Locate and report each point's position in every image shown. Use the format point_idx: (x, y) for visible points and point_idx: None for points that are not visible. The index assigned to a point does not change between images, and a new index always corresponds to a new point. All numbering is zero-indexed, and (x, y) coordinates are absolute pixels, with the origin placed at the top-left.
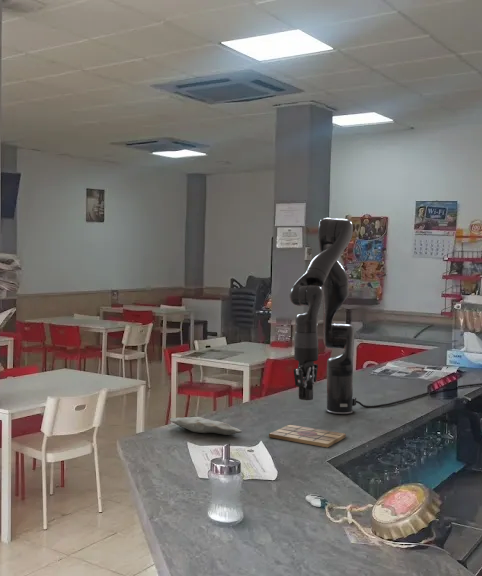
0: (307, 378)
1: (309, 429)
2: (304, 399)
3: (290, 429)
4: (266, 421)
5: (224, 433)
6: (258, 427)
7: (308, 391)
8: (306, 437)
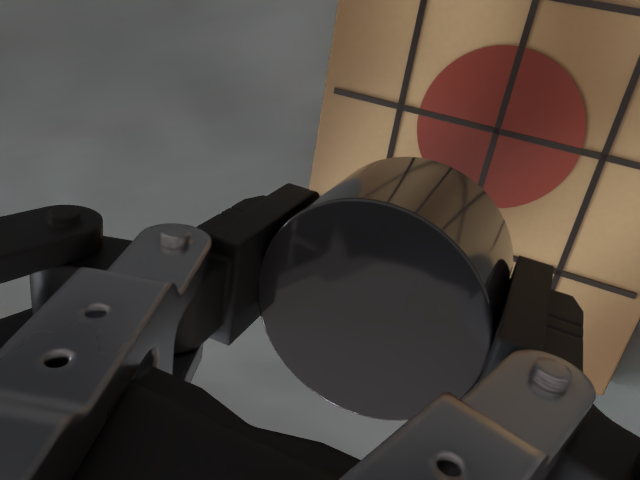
0: (511, 461)
1: (362, 136)
2: (511, 266)
3: None
4: (229, 398)
5: None
6: (372, 438)
7: (478, 261)
8: (637, 115)
